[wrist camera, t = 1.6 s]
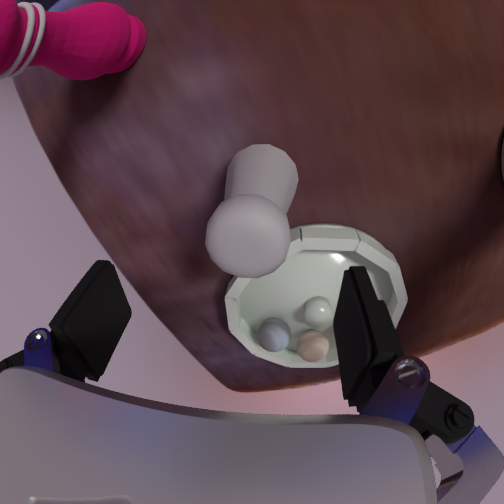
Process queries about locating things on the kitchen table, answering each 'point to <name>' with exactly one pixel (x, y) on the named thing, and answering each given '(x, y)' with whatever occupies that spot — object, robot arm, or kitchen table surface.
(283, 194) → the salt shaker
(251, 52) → the kitchen table surface
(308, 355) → the bead cream
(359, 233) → the tray
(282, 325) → the dusty blue bead
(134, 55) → the pepper mill
